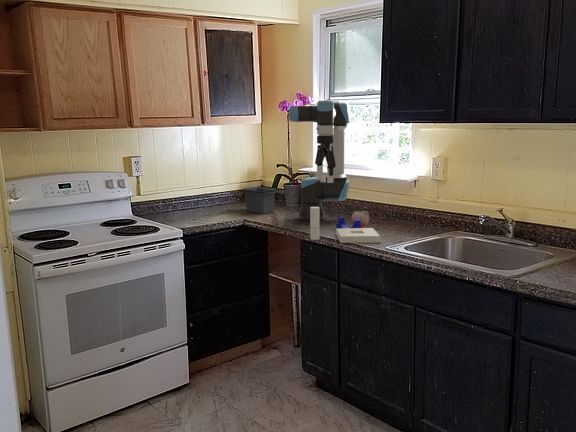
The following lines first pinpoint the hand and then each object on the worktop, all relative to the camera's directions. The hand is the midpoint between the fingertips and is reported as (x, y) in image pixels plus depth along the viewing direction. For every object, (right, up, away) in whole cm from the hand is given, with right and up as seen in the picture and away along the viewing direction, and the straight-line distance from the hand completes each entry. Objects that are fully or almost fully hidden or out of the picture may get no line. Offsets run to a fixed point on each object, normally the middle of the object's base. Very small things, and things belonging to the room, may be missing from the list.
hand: (324, 181), depth 257 cm
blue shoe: (+13, -24, +23) cm, 35 cm away
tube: (-5, -27, +4) cm, 28 cm away
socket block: (+15, -27, +5) cm, 31 cm away
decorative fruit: (+20, -23, +27) cm, 41 cm away
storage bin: (-34, -14, +79) cm, 87 cm away
